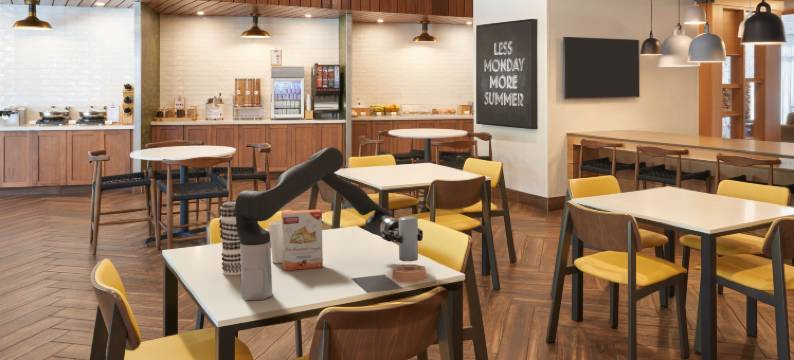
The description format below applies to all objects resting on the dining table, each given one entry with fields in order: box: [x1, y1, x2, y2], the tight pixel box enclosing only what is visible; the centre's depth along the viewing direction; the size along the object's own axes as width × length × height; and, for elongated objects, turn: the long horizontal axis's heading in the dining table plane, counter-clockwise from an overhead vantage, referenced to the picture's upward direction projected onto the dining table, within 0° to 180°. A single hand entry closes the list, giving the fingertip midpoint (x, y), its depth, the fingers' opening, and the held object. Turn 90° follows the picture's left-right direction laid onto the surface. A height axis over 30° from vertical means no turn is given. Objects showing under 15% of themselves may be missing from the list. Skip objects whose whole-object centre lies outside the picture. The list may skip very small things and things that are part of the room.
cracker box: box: [281, 209, 324, 271], centre depth 244 cm, size 14×6×21 cm, turn 105°
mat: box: [350, 274, 404, 294], centre depth 222 cm, size 18×12×1 cm, turn 21°
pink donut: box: [392, 263, 427, 283], centre depth 229 cm, size 11×11×4 cm
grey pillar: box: [398, 216, 419, 262], centre depth 227 cm, size 6×6×14 cm
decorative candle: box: [218, 201, 241, 276], centre depth 240 cm, size 9×9×25 cm
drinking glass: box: [268, 220, 283, 264], centre depth 253 cm, size 7×7×15 cm
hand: (411, 239), depth 225 cm, fingers closed on grey pillar, 6 cm apart
